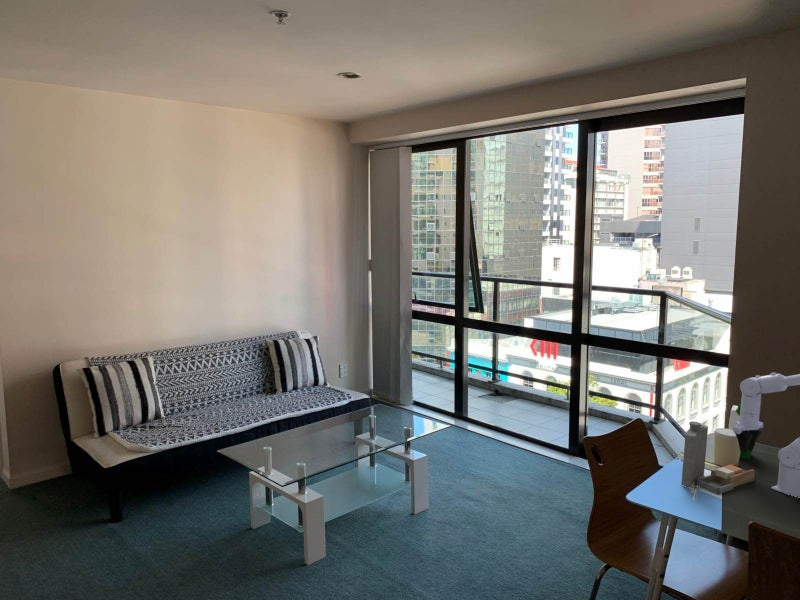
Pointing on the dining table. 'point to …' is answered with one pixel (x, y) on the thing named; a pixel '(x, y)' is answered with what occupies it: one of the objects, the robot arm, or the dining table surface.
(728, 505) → the dining table surface
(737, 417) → the milk carton
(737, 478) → the board
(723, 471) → the tile
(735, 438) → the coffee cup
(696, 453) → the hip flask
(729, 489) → the tray
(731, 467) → the tile
